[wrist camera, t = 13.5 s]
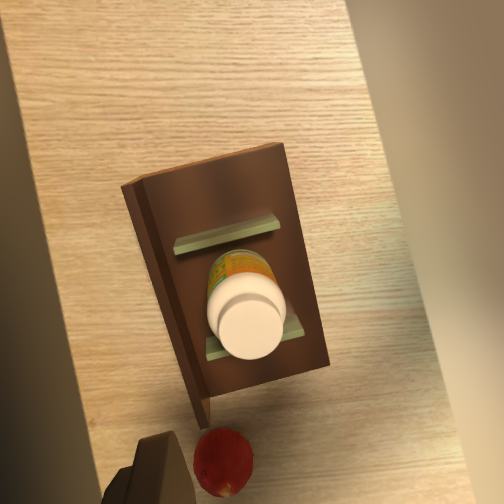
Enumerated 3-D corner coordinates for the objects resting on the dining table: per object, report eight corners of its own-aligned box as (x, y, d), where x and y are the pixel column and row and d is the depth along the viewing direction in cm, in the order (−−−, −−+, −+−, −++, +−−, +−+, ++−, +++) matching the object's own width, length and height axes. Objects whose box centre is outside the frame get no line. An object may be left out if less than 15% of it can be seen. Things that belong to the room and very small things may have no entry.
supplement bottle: (214, 242, 34) (216, 281, 24) (279, 255, 34) (304, 297, 25) (201, 303, 35) (198, 363, 26) (264, 314, 36) (282, 376, 26)
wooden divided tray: (273, 142, 37) (293, 142, 28) (317, 340, 42) (344, 391, 34) (141, 175, 37) (120, 186, 28) (202, 370, 42) (200, 430, 33)
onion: (221, 467, 45) (223, 534, 38) (183, 436, 44) (177, 500, 36) (260, 433, 45) (271, 494, 37) (223, 401, 43) (225, 458, 36)
